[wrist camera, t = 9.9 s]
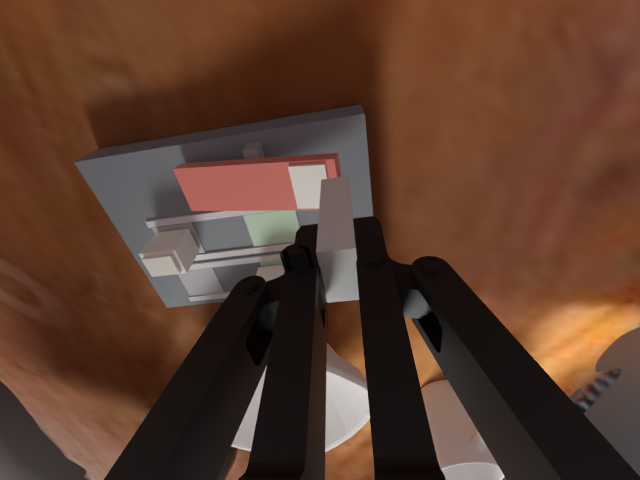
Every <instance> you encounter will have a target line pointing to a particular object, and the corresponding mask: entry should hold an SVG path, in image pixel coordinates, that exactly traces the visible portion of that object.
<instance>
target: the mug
mask: <svg viewBox="0 0 640 480" xmlns="http://www.w3.org/2000/svg"><path fill="white" fill-rule="evenodd" d="M421 392H422V396H423V400H424V404H425V409H426V413H427V417H428V421H429V426H430V430H431V434H432V438H433V443H434V447H435V451H436V455H437V459H438V463H439V466H440V468H441V470H442V472H443V473H444V476H445V479H446V480H502V479H503V478H504V477H505V476H504V474H503V473H502V471H501V469H500V468H499V466H498V464H497V463H496V461H495V459H494V457H493V456H492V454H491V452H490V451H489V449H488V447H487V446H486V444H485V442H484V441H483V439H482V437H481V436H480V434H479V432H478V430H477V429H476V427H475V425H474V424H473V422H472V420H471V419H470V417H469V415H468V414H467V412H466V410H465V408H464V407H463V405H462V403H461V402H460V400H459V398H458V397H457V395H456V393H455V392H454V390H453V388H452V387H451V385H450V383H449V381H448V380H447V379H444V380H438V381H434V382H431V383H429V384H427V385H425V386H424V387H423V388H422V389H421Z"/></svg>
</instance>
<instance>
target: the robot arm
mask: <svg viewBox="0 0 640 480" xmlns="http://www.w3.org/2000/svg"><path fill="white" fill-rule="evenodd" d="M280 258H281V261H282V264H283V267H284V274H283V275H281V276H280V277H278V278H275V279H272V280H269V281H267V282H266V281H265V279H264V278H263V277H261V276H257V275H256V276H249V277H246V278H244V279H242V280H240V281H239V282H238V283H237V284H236V285H235V286H234V288H233V289H232V291H231V292H230V294H229V295H228V296H227V298H226V299H225V301H224V302H223V304H222V305H221V307H220V308H219V310H218V311H217V313H216V314H215V316H214V317H213V319H212V320H211V322H210V323H209V325H208V326H207V328H206V329H205V331H204V332H203V334H202V335H201V336H200V338H199V339H198V341H197V342H196V344H195V345H194V347H193V348H192V350H191V351H190V353H189V354H188V356H187V357H186V359H185V360H184V362H183V363H182V365H181V366H180V368H179V369H178V371H177V372H176V374H175V375H174V376H173V378H172V379H171V381H170V382H169V384H168V385H167V387H166V388H165V390H164V391H163V393H162V394H161V396H160V397H159V399H158V400H157V402H156V403H155V405H154V406H153V408H152V409H151V411H150V412H149V413H148V415H147V416H146V418H145V419H144V421H143V422H142V424H141V425H140V427H139V428H138V430H137V431H136V433H135V434H134V436H133V437H132V439H131V440H130V442H129V443H128V445H127V446H126V448H125V449H124V451H123V452H122V453H121V455H120V456H119V458H118V459H117V461H116V462H115V464H114V465H113V467H112V468H111V470H110V471H109V473H108V474H107V476H106V477H105V479H104V480H225V479H226V477H227V475H228V473H229V471H230V469H231V467H232V465H233V464H234V461H235V458H236V454H237V449H238V448H236V447H232V446H231V445H232V443H233V441H234V439H235V436H236V434H237V432H238V429H239V427H240V425H241V423H242V420H243V418H244V416H245V414H246V411H247V409H248V407H249V404H250V402H251V400H252V398H253V395H254V393H255V391H256V389H257V386H258V384H259V382H260V379H261V377H262V375H263V373H264V370H265V368H266V373H265V378H264V383H263V389H262V394H261V399H260V405H259V410H258V415H257V421H256V426H255V431H254V437H253V442H252V447H251V453H250V458H249V463H248V467H247V470H246V472H245V473H244V474H243V475H242V476H241V477H240V478H239V479H238V480H325V429H326V364H327V309H326V305H325V301H326V300H327V303H331V302H342V301H352V300H359V302H360V313H361V324H362V335H363V346H364V357H365V368H366V379H367V390H368V401H369V413H370V424H371V435H372V446H373V457H374V470H375V480H446V479H445V476H444V473H443V472H442V470H441V468H440V466H439V463H438V459H437V455H436V451H435V447H434V443H433V438H432V434H431V430H430V426H429V421H428V417H427V413H426V409H425V404H424V400H423V396H422V392H421V387H420V383H419V379H418V375H417V370H416V366H415V362H414V358H413V353H412V349H411V345H410V341H409V336H408V332H407V328H406V324H405V319H404V316H405V317H411V318H412V320H413V322H414V324H415V326H416V327H417V329H418V331H419V333H420V334H421V336H422V338H423V339H424V341H425V343H426V344H427V346H428V348H429V349H430V351H431V353H432V354H433V356H434V358H435V360H436V361H437V363H438V365H439V366H440V368H441V370H442V371H443V373H444V375H445V376H446V378H447V380H448V381H449V383H450V385H451V387H452V388H453V390H454V392H455V393H456V395H457V397H458V398H459V400H460V402H461V403H462V405H463V407H464V408H465V410H466V412H467V414H468V415H469V417H470V419H471V420H472V422H473V424H474V425H475V427H476V429H477V430H478V432H479V434H480V436H481V437H482V439H483V441H484V442H485V444H486V446H487V447H488V449H489V451H490V452H491V454H492V456H493V457H494V459H495V461H496V463H497V464H498V466H499V468H500V469H501V471H502V473H503V474H504V476H505V478H506V479H507V480H640V476H639V475H638V474H637V473H636V472H635V471H634V470H633V469H632V468H631V466H630V465H629V464H628V463H627V462H626V461H625V460H624V459H623V458H622V456H621V455H620V454H619V453H618V452H617V451H616V450H615V449H614V447H613V446H612V445H611V444H610V443H609V442H608V441H607V440H606V439H605V437H604V436H603V435H602V434H601V433H600V432H599V431H598V430H597V429H596V427H595V426H594V425H593V424H592V423H591V422H590V421H589V420H588V419H587V417H586V416H585V415H584V414H583V413H582V412H581V411H580V410H579V409H578V407H577V406H576V405H575V404H574V403H573V402H572V401H571V400H570V399H569V397H568V396H567V395H566V394H565V393H564V392H563V391H562V390H561V389H560V387H559V386H558V385H557V384H556V383H555V382H554V381H553V380H552V379H551V377H550V376H549V375H548V374H547V373H546V372H545V371H544V370H543V369H542V367H541V366H540V365H539V364H538V363H537V362H536V361H535V360H534V359H533V357H532V356H531V355H530V354H529V353H528V352H527V351H526V350H525V349H524V347H523V346H522V345H521V344H520V343H519V342H518V341H517V340H516V339H515V337H514V336H513V335H512V334H511V333H510V332H509V331H508V330H507V329H506V327H505V326H504V325H503V324H502V323H501V322H500V321H499V320H498V319H497V317H496V316H495V315H494V314H493V313H492V312H491V311H490V310H489V309H488V307H487V306H486V305H485V304H484V303H483V302H482V301H481V300H480V299H479V297H478V296H477V295H476V294H475V293H474V292H473V291H472V290H471V289H470V287H469V286H468V285H467V284H466V283H465V282H464V281H463V280H462V278H461V277H460V276H459V275H458V274H457V273H456V272H455V271H454V270H453V268H452V267H451V266H450V265H449V264H448V263H447V262H446V261H444V260H443V259H440V258H438V257H432V256H426V257H421V258H418V259H416V260H415V261H414V262H413V263H412V265H407V264H401V263H398V262H395V261H393V260H392V259H391V258H390V257H389V256H388V254H387V251H386V246H385V242H384V238H383V234H382V229H381V225H380V221H379V220H378V219H377V218H376V217H375V216H369V217H361V218H354V217H353V209H352V201H351V193H350V185H349V176H344V177H337V178H330V179H323V180H321V190H320V204H319V218H318V224H310V225H302V226H301V227H300V228H299V229H298V230H297V232H296V236H295V242H294V244H291V245H289V246H287V247H286V248H284V249H283V250H282V251H281V253H280ZM266 366H267V367H266Z"/></svg>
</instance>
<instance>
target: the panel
mask: <svg viewBox="0 0 640 480" xmlns="http://www.w3.org/2000/svg"><path fill="white" fill-rule="evenodd" d="M327 153H338V156H339V163H340V170H341V177H344V176H349V185H350V193H351V201H352V209H353V217H354V218H361V217H369V216H373V207H372V195H371V182H370V170H369V158H368V145H367V133H366V121H365V113H364V110H363V107H362V105H361V104H359V105H353V106H348V107H342V108H336V109H330V110H324V111H318V112H312V113H307V114H301V115H295V116H289V117H283V118H277V119H271V120H266V121H260V122H254V123H248V124H242V125H236V126H230V127H225V128H219V129H213V130H207V131H201V132H195V133H189V134H184V135H178V136H172V137H166V138H160V139H154V140H148V141H143V142H137V143H131V144H125V145H119V146H113V147H107V148H102V149H97V150H96V151H94V152H92V153H90V154H88V155H86V156H84V157H83V158H81V159H79V160H77V161H75V162H74V163H75V165H76V166H77V168H78V169H79V171H80V173H81V174H82V176H83V177H84V179H85V180H86V182H87V184H88V185H89V187H90V188H91V190H92V191H93V193H94V194H95V196H96V198H97V199H98V201H99V202H100V204H101V205H102V207H103V209H104V210H105V212H106V213H107V215H108V216H109V218H110V220H111V221H112V223H113V224H114V226H115V227H116V229H117V230H118V232H119V234H120V235H121V237H122V238H123V240H124V241H125V243H126V245H127V246H128V248H129V249H130V251H131V252H132V254H133V255H134V257H135V259H136V260H137V262H138V263H139V265H140V266H141V268H142V270H143V271H144V273H145V274H146V276H147V277H148V279H149V280H150V282H151V284H152V285H153V287H154V288H155V290H156V291H157V293H158V295H159V296H160V298H161V299H162V301H163V302H164V304H165V305H166V307H167V308H170V307H180V306H189V305H199V304H209V303H219V302H224V301H225V299H226V298H227V296H228V295H229V294H230V292H231V291H232V289H233V288H234V286H235V285H236V284H237V283H238V282H239V281H240V280H242V279H244V278H246V277H249V276H256V273H257V270H258V267H265V266H274V265H283V264H282V261H281V258H280V253H281V251H282V250H283V249H284V248H286V247H287V246H289V245H291V244H294V242H295V236H296V232H297V230H298V229H299V228H300V227H301V226H302V225H310V224H318V218H319V210H274V211H192V210H191V208H190V206H189V204H188V202H187V199H186V197H185V195H184V193H183V191H182V188H181V186H180V184H179V182H178V180H177V178H176V175H175V173H174V171H173V168H175V167H176V166H178V165H179V164H181V163H194V162H209V161H224V160H239V159H253V158H268V157H283V156H298V155H313V154H327ZM188 228H189V230H190V232H191V234H192V236H193V238H194V240H195V242H196V244H197V247H198V249H199V253H198V254H197V256H196V258H195V260H194V261H193V263H192V265H191V267H190V268H189V270H188V272H187V273H182V274H174V275H166V276H157V277H152V276H151V275H150V273H149V271H148V270H147V268H146V267H145V265H144V263H143V262H142V260H141V257H140V256H139V253H140V251H141V250H142V249H143V248H144V247H145V245H146V244H147V243H148V242H149V241H150V239H151V238H152V237H153V236H154V235H155V233H158V232H165V231H173V230H181V229H188Z"/></svg>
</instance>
